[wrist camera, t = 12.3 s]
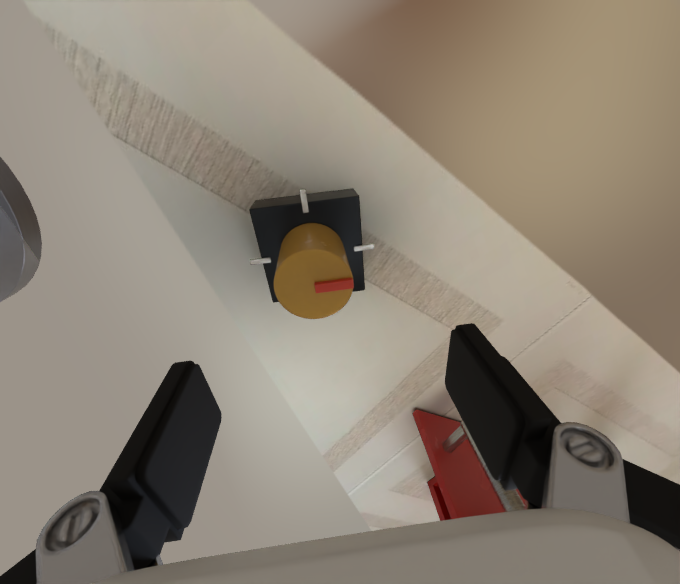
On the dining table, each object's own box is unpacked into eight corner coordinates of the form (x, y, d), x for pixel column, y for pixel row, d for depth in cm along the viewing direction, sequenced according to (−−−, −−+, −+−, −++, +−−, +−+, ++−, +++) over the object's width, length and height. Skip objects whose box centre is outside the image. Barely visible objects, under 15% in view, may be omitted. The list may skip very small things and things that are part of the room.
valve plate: (268, 296, 24) (264, 314, 22) (240, 189, 20) (231, 198, 17) (369, 282, 24) (376, 298, 22) (364, 175, 20) (371, 181, 18)
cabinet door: (440, 382, 31) (540, 574, 18) (519, 409, 35) (650, 583, 22) (412, 413, 33) (482, 605, 20) (489, 435, 37) (591, 608, 24)
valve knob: (286, 285, 21) (281, 327, 17) (274, 227, 19) (264, 257, 14) (346, 277, 21) (357, 316, 17) (341, 218, 19) (351, 246, 15)
